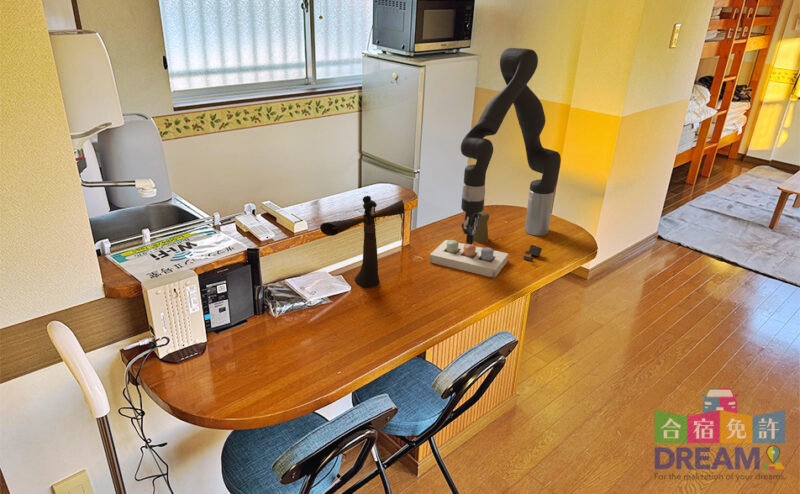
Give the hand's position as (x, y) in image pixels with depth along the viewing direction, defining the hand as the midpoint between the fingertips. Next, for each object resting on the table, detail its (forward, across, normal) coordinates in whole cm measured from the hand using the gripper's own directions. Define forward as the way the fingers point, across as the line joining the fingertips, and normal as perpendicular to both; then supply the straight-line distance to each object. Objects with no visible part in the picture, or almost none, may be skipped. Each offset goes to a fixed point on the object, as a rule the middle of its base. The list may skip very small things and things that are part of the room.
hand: (469, 243), depth 190 cm
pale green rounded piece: (+5, 0, -6) cm, 8 cm away
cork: (+7, -20, -3) cm, 22 cm away
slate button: (+5, 0, +7) cm, 8 cm away
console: (+7, 0, 0) cm, 7 cm away
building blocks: (+7, -14, +19) cm, 25 cm away
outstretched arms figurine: (+8, +29, -24) cm, 39 cm away
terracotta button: (+5, 0, 0) cm, 5 cm away
